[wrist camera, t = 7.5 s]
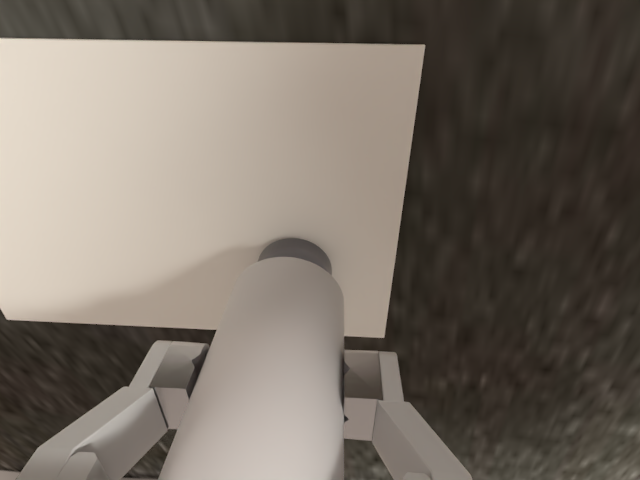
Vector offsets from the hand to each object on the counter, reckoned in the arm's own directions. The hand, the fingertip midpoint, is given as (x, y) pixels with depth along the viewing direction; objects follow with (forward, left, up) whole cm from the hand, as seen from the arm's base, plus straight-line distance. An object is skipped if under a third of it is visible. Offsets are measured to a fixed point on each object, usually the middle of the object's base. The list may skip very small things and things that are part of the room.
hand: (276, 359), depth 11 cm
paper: (+5, -2, -5) cm, 7 cm away
